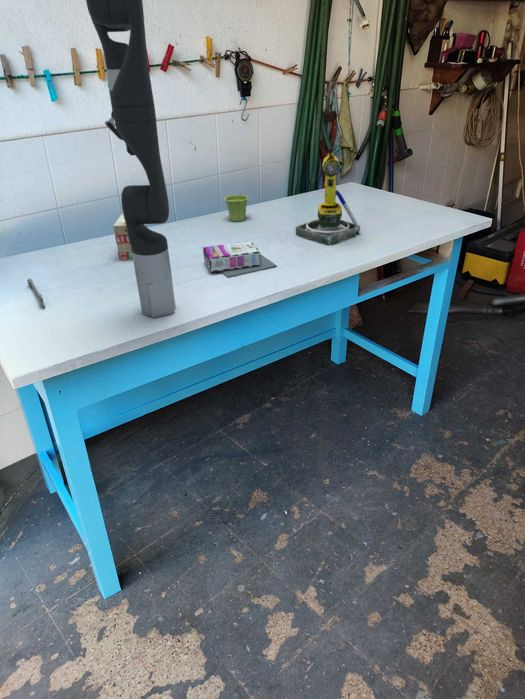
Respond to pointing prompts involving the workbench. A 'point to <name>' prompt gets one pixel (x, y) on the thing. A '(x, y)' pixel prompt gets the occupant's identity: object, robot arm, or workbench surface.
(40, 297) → the combination wrench
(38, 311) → the workbench surface
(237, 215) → the plant pot
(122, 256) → the stack of blocks
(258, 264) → the candy bar box
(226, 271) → the rubber mat
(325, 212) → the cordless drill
